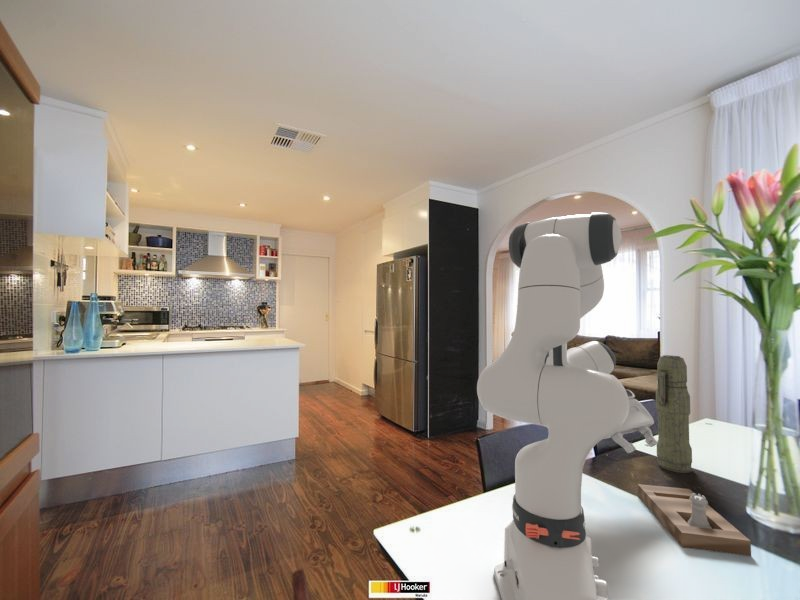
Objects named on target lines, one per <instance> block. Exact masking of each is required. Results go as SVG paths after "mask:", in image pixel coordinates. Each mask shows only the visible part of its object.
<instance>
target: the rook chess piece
mask: <svg viewBox="0 0 800 600" xmlns="http://www.w3.org/2000/svg"><path fill="white" fill-rule="evenodd" d="M696 495H697V496H696ZM689 499H690V500H691V502H692V504H691V507H692V514H691V518H690V520H688V522H687V523H688V524H689V525H690V526H692V527H701V528H710V529H712V528H711V526H710V525H709V523H708V520H707V516H706V510H707V509H706V505H707V504H708V505H709V501H708V500H707V498H706V496H705V495H701V493H695V492H693V494H691V497H689Z"/></svg>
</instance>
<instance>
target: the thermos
mask: <svg viewBox="0 0 800 600" xmlns="http://www.w3.org/2000/svg"><path fill="white" fill-rule="evenodd" d="M656 366H657V368H656V369H657V370H656V372H657V377H656V378H657V381H658V383H657V389H656V391H655V409H656V412H657V433H658V435H657V436H658V439H657V440H656V441H657V442H658V443H657V444H656V457H657V465H658V466H659V467H660V468H662V469H664V470H666V471H670V472H673V473H680V474H689V473H691V472H692V471H693V469H692V463H693V452H692V451H693V448H692V446H691V444H690V418H689V417H690V415H691V396H690V393H689V391H688V386H687V383H688V368H687V367H688V366H687V364H686V362H685V359H684V357H681V356H679V355H668V354H665V355H664V354H663V355H662V356H659V358H658V362H657V365H656Z"/></svg>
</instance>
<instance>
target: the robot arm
mask: <svg viewBox="0 0 800 600" xmlns="http://www.w3.org/2000/svg"><path fill="white" fill-rule="evenodd" d="M622 239H623V236H622V231H621V228H620V226H619V223H618V222H617V220H616V217H614V216H613V215H612V214H610V213H609V212H608V213H607V212H591V214H574V215H566V216H555V217H554V216H553V217H549V218H545V219H541V220H538V221H537V220H536V221H533V222H525V223H522V224H520V225H517V226H515V227H514V229H513V230H512V232H511V233H510V235H509V239H508V252H509V253H508V254H509V257H510V259H511V261H512V263H513V264H514V265H515V266H516V267H517V268H519V276H518V283H517V284H518V286H517V287H518V289H517V305H516V307H517V308H516V318H515V323H514V330H513V332H512V336H511V338H510V340H509V342H508V345H507V346H506V348H505V349H504V351H503V352H502V353H501V354H500V355H499V356H498V357H497V358H496V359H494V361H493V362H490V363H489V364H487V365H486V366H485V367H484V368H483V370H482V371H481V372H480V374H479V376H478V379H477V383H476V394H477V397H478V401H479V403H480V404H481V407H482V408H483V410H484V411H486V412H488V413H489V414H493V415H495V416H498V417H500V418H503V419H506V420H508V421H512V422H513V421H514V422H519V423H525V424H530V425H531V424H532V425H535V426H542V427H545V428H547V431H548V436H547V437H546V438H545V439H542V440H539V441H535V442H532V443H529V444H527V445H525V446H523V447H522V448H520V450H519V451H518V453H517V454H516V456H515V460H514V479H515V481H514V482H515V483H514V485H515V486H514V490H515V491H514V492H515V493H514V495H513V497H512V504H511V505H512V506H511V510H512V518H513V519H512V521H511V522H510V523H509V524H508V525H506V527H505V528H504V545H503V547H504V550H503V554H504V555H503V556H504V557H503V563H499V564H498V565H496V566H494V569H493V576H494V579H495V583H496V585H497V589H498V592H499V595H500V597H501V600H609V598H608V597H609V596H608V585H607V581H606V580H604V579H602V578H600V577H599V575H597V574H595V572H594V567H595V568H599V567H600V564H599V563H600V562H599V558H598V556H593V555H592V538H591V537H589V536H588V534H587V532H586V518H585V517H586V516H585V511H584V508H583V506H582V481H583V471H584V466H585V462H586V460H587V458H588V456H589V454H590V452H591V450H593V449H594V447H595V446H596V445H597V444H598V443H599V442H600V441H602V440H605V439H612V440H613V441H614V442H615V443H616V444H617V445H619V446H620V447H622V448H623V450H625V452H626V453H627V454H631V453H633V452H635V451H636V449H637V448H636V446H634V444H633V443H632V442H629V441H628V440H627V439H625V437H624V435H627V434H630V433H635V432H639V433H640V434H641V435H643V436H644V438H645V440H644V442H645V443H646V444H647V446H649V447H650V448H651V447H655V446H657V443H658V442H657V441H658V440H657V439H656V438H655V437H654V435H653V431H652V430H651V428H650V427H651V426H652V425H654V424H655V421H654V418H653V416H652V415H651V414H650V412H649V411H648V409H646V407H645V406H644V405H643V404H642V403H641V402H640V401H639V400H638V399H636V398H635V397H636V395H635V393H634V392H633V391H631V390H630V389H626V388H625V387H624V385H623V384H622V382H621V381H620V380H619V379H618V378H617V377H616V376H615V375H614V374H612V373H613V372H614V370H615V369H616V365H617V357H616V354H615V353H614V352H613V351H612V350H611V348H610V347H609V346H608V345H606V344H604V343H603V342H600V341H598V340H592V341H588V342H586V343H583V344H581V345H579V346H575V347H571V348H569V349H568V342H570V341H572V340H573V339H574V338H576V336H577V335H578V333H579V332H580V328H581V319H582V318H583V317H585V316H586V315H587V314H588V313H589V312H591V311H592V310H593V309H595V308H596V307H597V306H598V304H599V303H600V302H601V300H602V298H603V297H604V291H605V281H604V280H605V279H604V273H603V267H602V265H603V264H607V263H609V262H611V261H612V260H613V259H614V258H616V257H617V255H618V252H619V250H620V248H621V245H622Z"/></svg>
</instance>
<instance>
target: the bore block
mask: <svg viewBox="0 0 800 600" xmlns="http://www.w3.org/2000/svg"><path fill="white" fill-rule="evenodd" d="M693 493H694V491H692V490H691V489H690V488H680V487H671V486H661V485H650V484H640V483H637V497H638V498H639V499H640V500H641V501H642V502H643V503H644V504H645V506H646V507H647V508H648V510H650V512H651V513H652V514H653V515H654V516H655V517H656V518H657V520H659V522H660V523H661V524H662V526H663V527H664V528H665V529H666V530H667V531H668V533H669V534H670V535H671V536H672V537H673V538H674V539H675V541H676V542H677V543H678V544H679V545H680V546H681V548H685V549H692V550H701V551H707V552H708V551H709V552H716V553H724V554H733V555H740V556H747V557H751V556H752V546H751V544H752V541H751V539H749V538H748V537H747V536H745V535H744V534H743V533H742V532H741V531H740V530H738V529H737V528H736V527H735V526H734V525H733V524H732V523H730V522H729V521H728V520H726V519H725V518H724V517H723V516H722V515H721V514H720V513H719V512H717V511H716V510H715V509H713V507H711V506H710V505H709V503H708V504H707V505H706V509H707V510H706V516H707V520H708V523H709V525H710V526H711V528H712V529H710V528H701V527H692V526H690V525H689V524H688V523H687V522H688V520H690V518H691V514H692V507H691V504H692V502H691V500H690V499H689V497H691V494H693ZM696 496H698V494H696Z"/></svg>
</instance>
